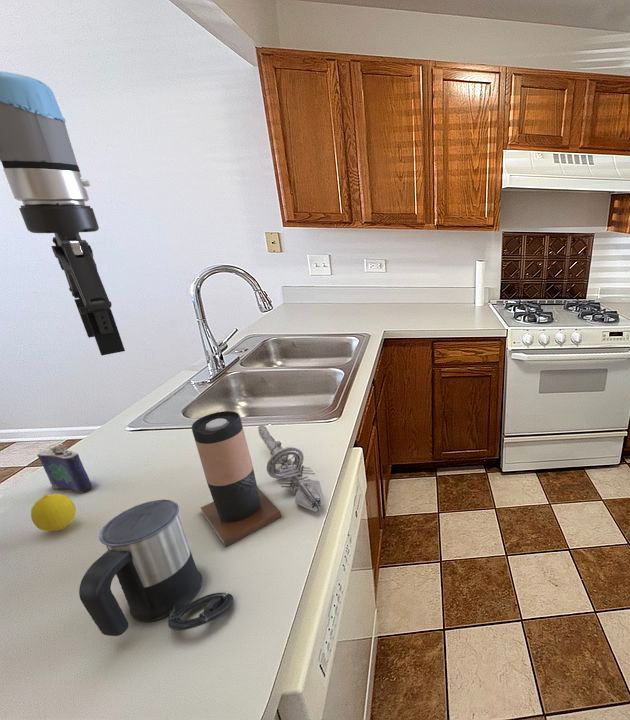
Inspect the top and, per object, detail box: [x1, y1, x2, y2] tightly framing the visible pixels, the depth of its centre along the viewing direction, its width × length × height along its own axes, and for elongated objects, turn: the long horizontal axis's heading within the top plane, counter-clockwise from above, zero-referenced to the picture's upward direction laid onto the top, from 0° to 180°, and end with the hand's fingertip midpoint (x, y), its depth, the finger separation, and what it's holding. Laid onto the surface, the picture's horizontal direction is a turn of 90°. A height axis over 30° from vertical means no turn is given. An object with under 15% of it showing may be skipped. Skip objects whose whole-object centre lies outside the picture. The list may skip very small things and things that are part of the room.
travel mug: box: [191, 410, 260, 522], centre depth 75 cm, size 8×8×20 cm
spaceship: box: [257, 424, 324, 512], centre depth 89 cm, size 8×35×8 cm
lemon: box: [30, 493, 77, 532], centre depth 74 cm, size 6×6×8 cm
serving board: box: [200, 486, 282, 548], centre depth 79 cm, size 13×10×2 cm
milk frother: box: [78, 499, 235, 637], centre depth 59 cm, size 14×16×15 cm
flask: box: [36, 443, 94, 494], centre depth 85 cm, size 9×3×11 cm, turn 79°
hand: (105, 343), depth 64 cm, fingers open, 13 cm apart
